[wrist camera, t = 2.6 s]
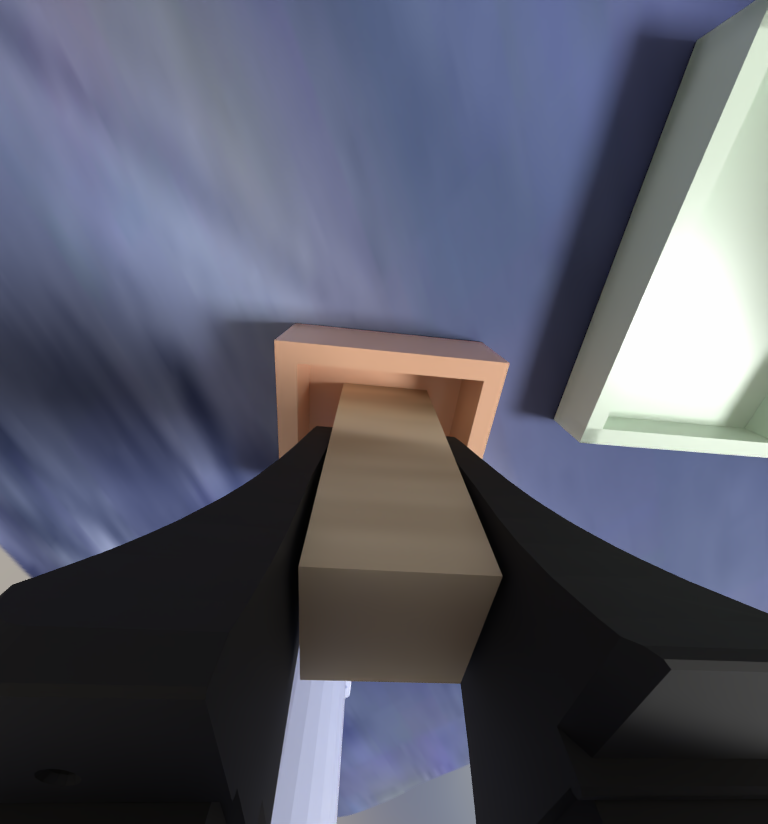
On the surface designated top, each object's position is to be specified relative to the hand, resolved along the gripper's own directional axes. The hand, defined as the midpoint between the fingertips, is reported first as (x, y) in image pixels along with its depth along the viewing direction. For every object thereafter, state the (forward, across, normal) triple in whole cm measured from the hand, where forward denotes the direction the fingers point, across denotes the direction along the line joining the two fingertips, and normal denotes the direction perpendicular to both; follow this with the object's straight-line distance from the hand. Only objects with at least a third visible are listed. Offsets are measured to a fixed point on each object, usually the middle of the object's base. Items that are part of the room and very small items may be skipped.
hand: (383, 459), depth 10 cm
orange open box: (+3, 0, 0) cm, 3 cm away
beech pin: (+2, 0, 0) cm, 2 cm away
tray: (+3, -11, -6) cm, 13 cm away
